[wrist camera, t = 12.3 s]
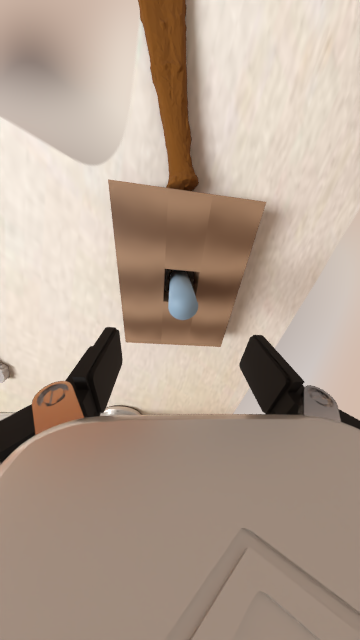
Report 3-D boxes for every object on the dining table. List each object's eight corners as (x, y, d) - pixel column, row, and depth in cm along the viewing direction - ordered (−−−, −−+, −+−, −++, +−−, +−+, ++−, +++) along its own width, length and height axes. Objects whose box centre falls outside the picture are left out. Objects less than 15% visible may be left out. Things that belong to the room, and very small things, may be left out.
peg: (187, 288, 25) (195, 320, 16) (169, 287, 24) (167, 319, 16) (190, 269, 23) (200, 294, 14) (170, 267, 23) (169, 291, 14)
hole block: (214, 333, 30) (220, 346, 26) (131, 328, 28) (125, 342, 25) (249, 206, 19) (266, 202, 16) (120, 188, 18) (108, 179, 14)
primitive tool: (92, -207, 9) (52, -428, 6) (183, -246, 9) (190, -500, 6) (168, 199, 19) (167, 194, 16) (211, 189, 19) (219, 181, 16)
